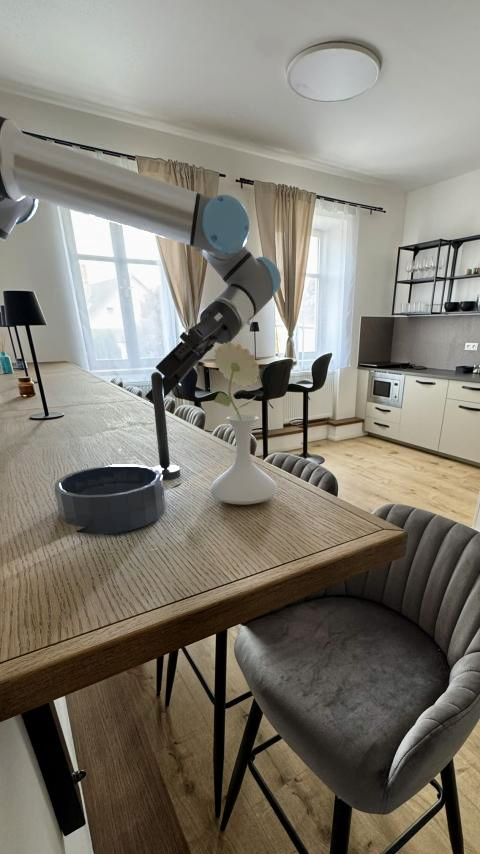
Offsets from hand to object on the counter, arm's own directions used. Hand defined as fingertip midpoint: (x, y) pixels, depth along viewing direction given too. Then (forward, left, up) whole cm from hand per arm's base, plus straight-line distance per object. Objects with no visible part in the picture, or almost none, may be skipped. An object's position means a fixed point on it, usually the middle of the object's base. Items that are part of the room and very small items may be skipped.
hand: (156, 388), depth 73 cm
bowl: (+6, -18, -17) cm, 25 cm away
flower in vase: (+18, -2, -17) cm, 25 cm away
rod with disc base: (+3, -3, -17) cm, 17 cm away
